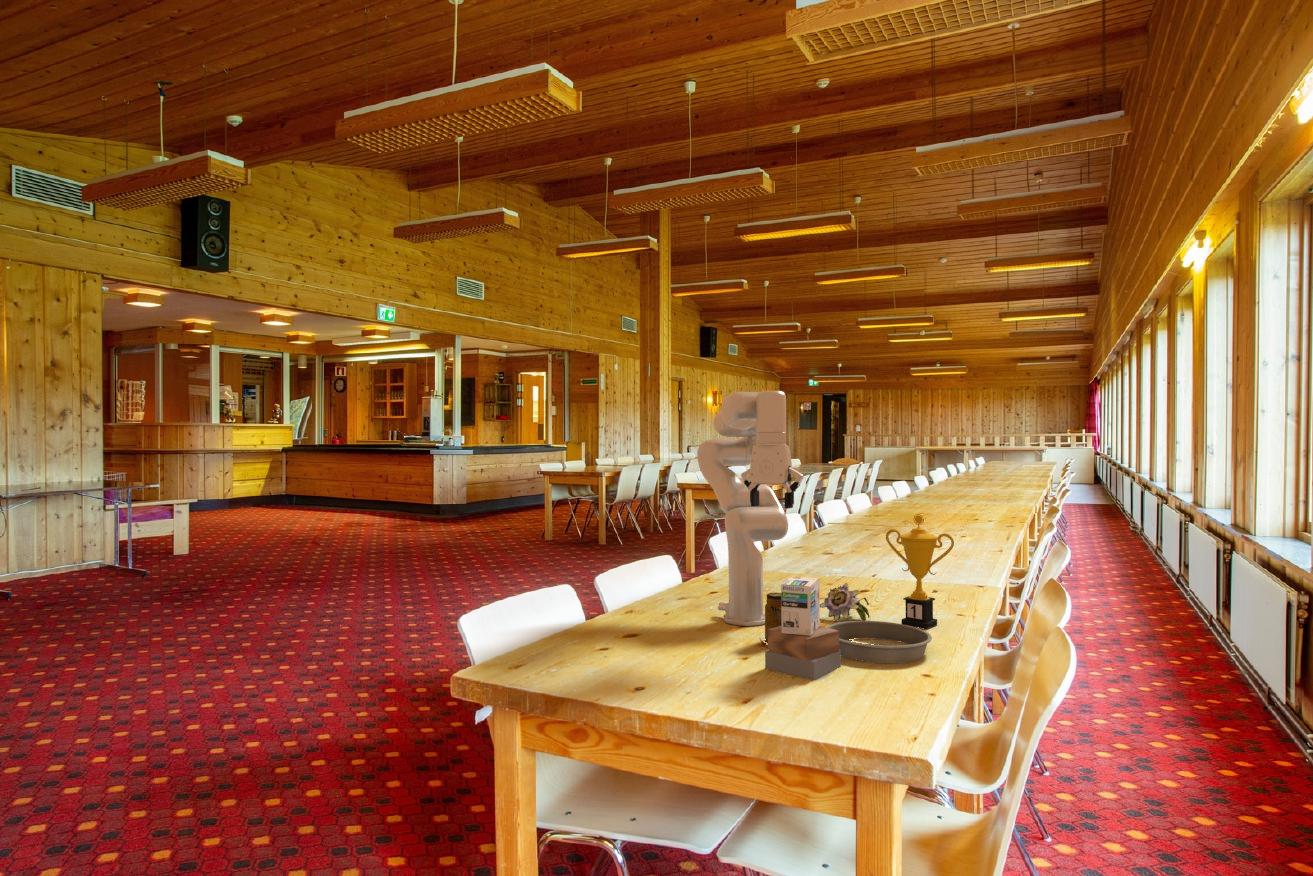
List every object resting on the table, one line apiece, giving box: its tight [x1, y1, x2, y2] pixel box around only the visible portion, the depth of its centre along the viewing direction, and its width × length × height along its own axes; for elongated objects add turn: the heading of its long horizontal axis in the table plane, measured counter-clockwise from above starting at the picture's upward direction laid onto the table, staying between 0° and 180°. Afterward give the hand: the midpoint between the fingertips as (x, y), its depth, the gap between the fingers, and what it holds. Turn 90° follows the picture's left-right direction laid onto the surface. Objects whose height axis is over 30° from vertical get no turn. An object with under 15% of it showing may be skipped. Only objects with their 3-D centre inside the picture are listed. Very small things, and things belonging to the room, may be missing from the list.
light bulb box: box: [780, 575, 821, 636], centre depth 165 cm, size 11×7×11 cm, turn 158°
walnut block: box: [767, 625, 839, 661], centre depth 165 cm, size 11×11×4 cm
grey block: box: [764, 649, 842, 681], centre depth 164 cm, size 12×12×4 cm
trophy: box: [885, 514, 955, 630], centre depth 202 cm, size 19×10×30 cm, turn 45°
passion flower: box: [820, 582, 870, 622], centre depth 210 cm, size 11×11×12 cm
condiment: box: [759, 592, 782, 648], centre depth 185 cm, size 7×8×12 cm
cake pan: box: [826, 620, 933, 664], centre depth 178 cm, size 25×25×4 cm
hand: (771, 507), depth 189 cm, fingers open, 9 cm apart
